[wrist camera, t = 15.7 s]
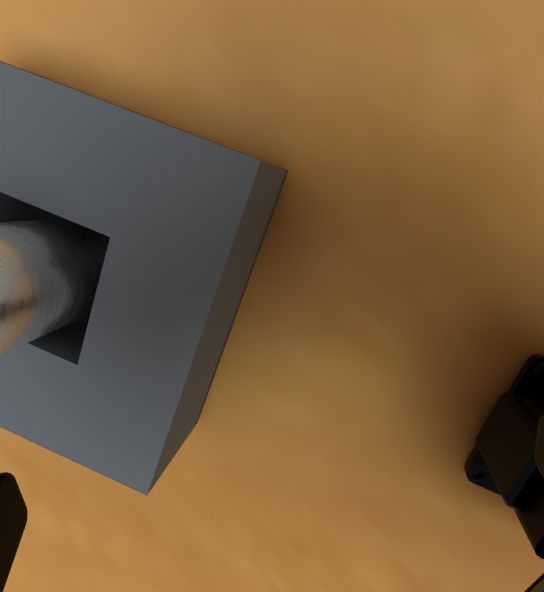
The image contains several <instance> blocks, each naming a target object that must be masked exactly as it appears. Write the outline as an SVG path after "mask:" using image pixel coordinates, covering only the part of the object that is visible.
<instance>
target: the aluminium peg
mask: <svg viewBox="0 0 544 592" xmlns="http://www.w3.org/2000/svg"><path fill="white" fill-rule="evenodd" d="M109 240H110V237H109V236H106V235H104V234H101V233H99V232H96V231H94V230H92V229H89V228H87V227H84V226H82V225H79V224H77V223H75V222H72V221H70V220H67V219H65V218H51V219H38V220H26V221H14V222H2V223H0V355H2V354H4V353H6V352H8V351H10V350H13V349H15V348H17V347H19V346H21V345H24V344H26V343H28V342H30V341H32V340H35V339H37V338H39V337H41V336H43V335H45V334H48V333H50V332H52V331H54V330H56V329H59V328H61V327H63V326H65V325H67V324H70V323H72V322H74V321H76V320H78V319H80V318H83V317H85V316H87V315H89V314H91V310H92V306H93V302H94V298H95V294H96V291H97V287H98V283H99V279H100V275H101V271H102V267H103V263H104V259H105V255H106V251H107V247H108V243H109Z"/></svg>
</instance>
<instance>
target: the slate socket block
mask: <svg viewBox="0 0 544 592" xmlns="http://www.w3.org/2000/svg"><path fill="white" fill-rule="evenodd" d="M287 172H288V170H285V169H283V168H280V167H277V166H275V165H272V164H270V163H267V162H264V161H262V160H259V159H256V158H254V157H251V156H249V155H246V154H243V153H241V152H238V151H235V150H233V149H230V148H228V147H225V146H222V145H220V144H217V143H214V142H212V141H209V140H207V139H204V138H201V137H199V136H196V135H193V134H191V133H188V132H186V131H183V130H180V129H178V128H175V127H172V126H170V125H167V124H165V123H162V122H159V121H157V120H154V119H152V118H149V117H146V116H144V115H141V114H138V113H136V112H133V111H131V110H128V109H125V108H123V107H120V106H117V105H115V104H112V103H110V102H107V101H104V100H102V99H99V98H96V97H94V96H91V95H89V94H86V93H83V92H81V91H78V90H75V89H73V88H70V87H68V86H65V85H62V84H60V83H57V82H54V81H52V80H49V79H47V78H44V77H41V76H39V75H36V74H33V73H31V72H28V71H26V70H23V69H20V68H18V67H15V66H12V65H10V64H7V63H4V62H2V61H0V223H2V222H14V221H26V220H38V219H51V218H65V219H67V220H70V221H72V222H75V223H77V224H79V225H82V226H84V227H87V228H89V229H92V230H94V231H96V232H99V233H101V234H104V235H106V236H109V237H110V240H109V243H108V247H107V251H106V255H105V259H104V263H103V267H102V271H101V275H100V279H99V283H98V287H97V291H96V294H95V298H94V302H93V306H92V310H91V314H89V315H87V316H85V317H83V318H80V319H78V320H76V321H74V322H72V323H70V324H67V325H65V326H63V327H61V328H59V329H56V330H54V331H52V332H50V333H48V334H45V335H43V336H41V337H39V338H37V339H35V340H32V341H30V342H28V343H26V344H24V345H21V346H19V347H17V348H15V349H13V350H10V351H8V352H6V353H4V354H2V355H0V427H1V428H3V429H6V430H8V431H10V432H12V433H14V434H16V435H18V436H21V437H23V438H25V439H27V440H29V441H31V442H33V443H36V444H38V445H40V446H42V447H44V448H46V449H48V450H51V451H53V452H55V453H57V454H59V455H61V456H63V457H66V458H68V459H70V460H72V461H74V462H76V463H78V464H81V465H83V466H85V467H87V468H89V469H91V470H93V471H96V472H98V473H100V474H102V475H104V476H106V477H108V478H111V479H113V480H115V481H117V482H119V483H121V484H123V485H125V486H128V487H130V488H132V489H134V490H136V491H138V492H140V493H143V494H145V495H148V493H149V492H150V490H151V489H152V487H153V486H154V485H155V483H156V482H157V480H158V479H159V477H160V476H161V474H162V473H163V472H164V470H165V469H166V467H167V466H168V464H169V463H170V461H171V460H172V459H173V457H174V456H175V454H176V453H177V451H178V450H179V448H180V447H181V446H182V444H183V443H184V441H185V440H186V438H187V437H188V435H189V434H190V433H191V431H192V430H193V428H194V427H195V425H196V424H197V422H198V419H199V416H200V414H201V411H202V408H203V405H204V402H205V400H206V397H207V394H208V391H209V388H210V386H211V383H212V380H213V377H214V375H215V372H216V369H217V366H218V363H219V361H220V358H221V355H222V352H223V350H224V347H225V344H226V341H227V338H228V336H229V333H230V330H231V327H232V325H233V322H234V319H235V316H236V313H237V311H238V308H239V305H240V302H241V300H242V297H243V294H244V291H245V288H246V286H247V283H248V280H249V277H250V275H251V272H252V269H253V266H254V263H255V261H256V258H257V255H258V252H259V250H260V247H261V244H262V241H263V238H264V236H265V233H266V230H267V227H268V224H269V222H270V219H271V216H272V213H273V211H274V208H275V205H276V202H277V199H278V197H279V194H280V191H281V188H282V186H283V183H284V180H285V177H286V174H287Z"/></svg>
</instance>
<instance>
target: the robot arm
mask: <svg viewBox="0 0 544 592" xmlns="http://www.w3.org/2000/svg"><path fill="white" fill-rule="evenodd" d="M541 363H544V355H541V354H537V355H533V356H531V357H529V358H528V360H527V361H526V362H525V364H524V366H523V367H522V369H521V371H520V373H519V374H518V376H517V378H516V379H515V381H514V383H513V384H512V386H511V388H510V390H509V391H508V392H506V393H504V394H502V395H501V396H500V398H499V400H498V401H497V403H496V405H495V406H494V408H493V410H492V412H491V413H490V415H489V417H488V418H487V420H486V422H485V424H484V425H483V427H482V429H481V430H480V432H479V434H478V436H477V437H476V443H477V446H476V447H475V449H474V451H473V452H472V454H471V456H470V458H469V459H468V461H467V463H466V464H465V468H464V469H465V473H466V476H467V478H468V479H469V481H471V482H472V483H474V484H476V485H479V486H481V487H483V488H486V489H488V490H490V491H493V492H495V493H497V494H499V495H501V496H502V498H503V500H504V502H505V504H506V505H507V506H509V507H511V508H513V509H514V511H515V513H516V515H517V517H518V519H519V521H520V523H521V525H522V527H523V529H524V531H525V533H526V535H527V537H528V539H529V541H530V543H531V545H532V547H533V549H534V551H535V553H536V555H537V556H539V557H540V558H542V559H544V368H543V369H542V370H541V371H535V368H536V366H537V365H538V364H541ZM477 469H480V470H482V471H481V472H480V473H478V474H474V473H473V471H474V470H477ZM26 522H27V507H26V505H25V502H24V499H23V497H22V494H21V492H20V489H19V487H18V484H17V482H16V479H15V477H14V476H13V475H12V474H11V473H7V472H4V473H0V592H3V590H4V587H5V584H6V581H7V578H8V575H9V573H10V570H11V567H12V564H13V561H14V558H15V555H16V552H17V549H18V546H19V543H20V541H21V538H22V535H23V532H24V529H25V526H26ZM525 592H544V573H543V574H542V575H541V576H540V577H539V578H538V579H537V580H536V581H535V582H534V583H533V584H532V585H531V586H530V587H529V588H528V589H527V590H526V591H525Z"/></svg>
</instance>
